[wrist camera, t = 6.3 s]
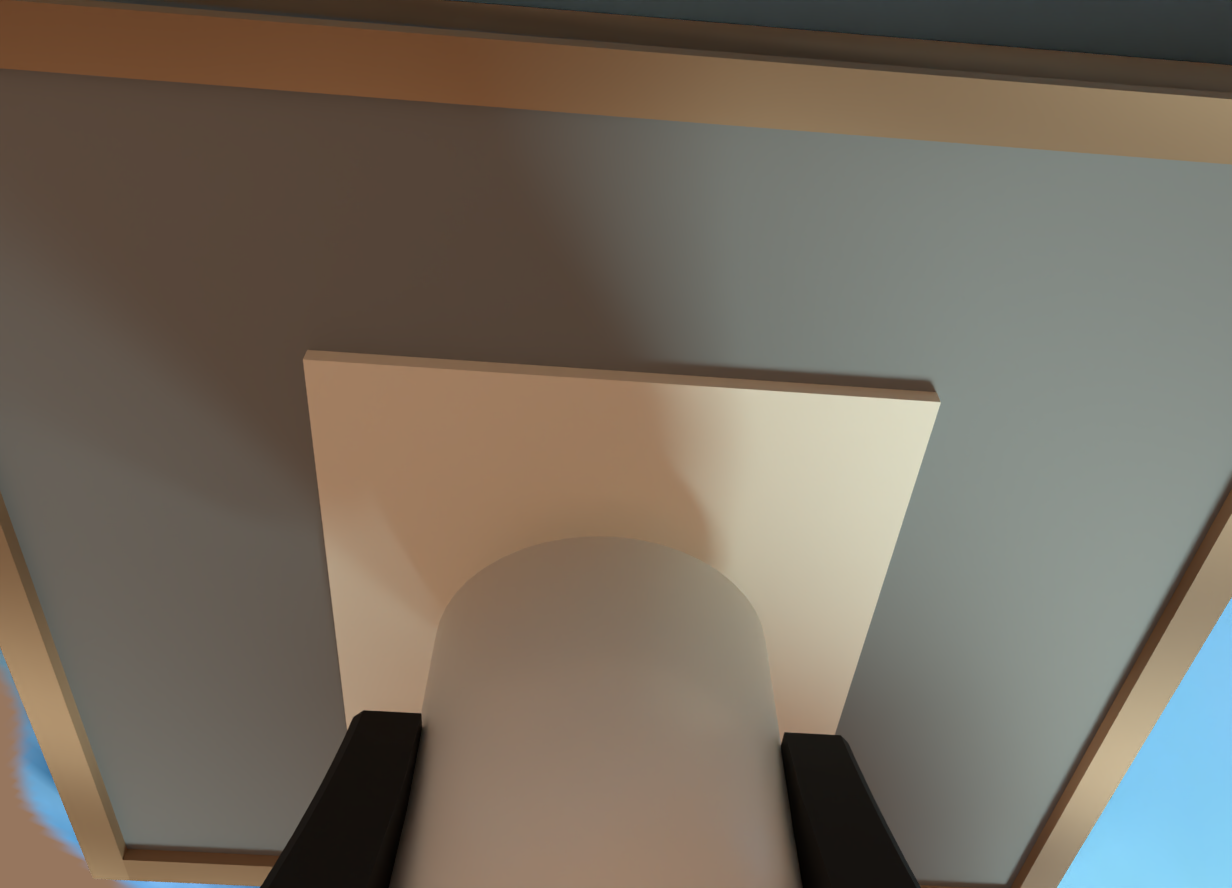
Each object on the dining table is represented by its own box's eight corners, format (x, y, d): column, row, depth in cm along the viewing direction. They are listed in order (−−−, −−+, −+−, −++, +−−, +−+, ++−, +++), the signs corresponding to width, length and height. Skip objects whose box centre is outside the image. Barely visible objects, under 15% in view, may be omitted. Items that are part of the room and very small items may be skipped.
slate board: (1015, 856, 19) (1036, 920, 18) (121, 814, 18) (93, 878, 17) (1435, 82, 11) (1518, 122, 10) (-182, -52, 10) (-268, -22, 9)
